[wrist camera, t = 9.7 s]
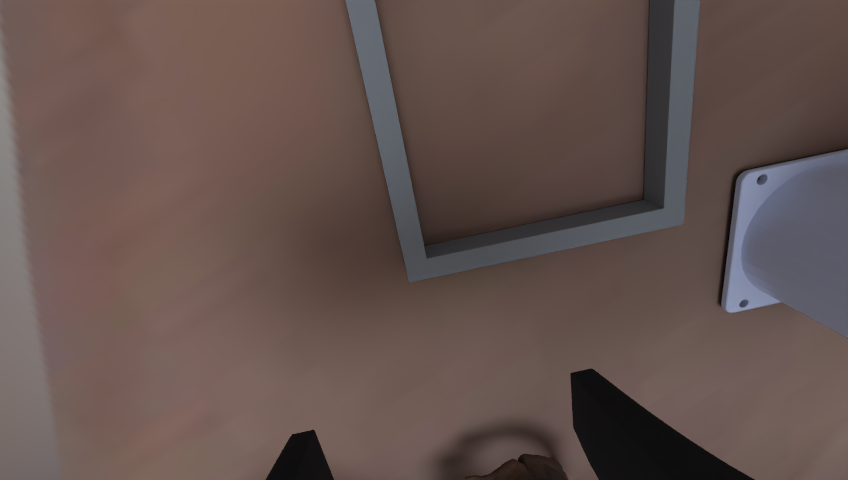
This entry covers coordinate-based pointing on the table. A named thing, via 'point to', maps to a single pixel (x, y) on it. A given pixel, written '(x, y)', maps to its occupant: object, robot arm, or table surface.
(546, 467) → the brown animal figurine
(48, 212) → the table surface
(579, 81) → the table surface
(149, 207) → the table surface
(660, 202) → the grey square frame
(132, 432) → the table surface
